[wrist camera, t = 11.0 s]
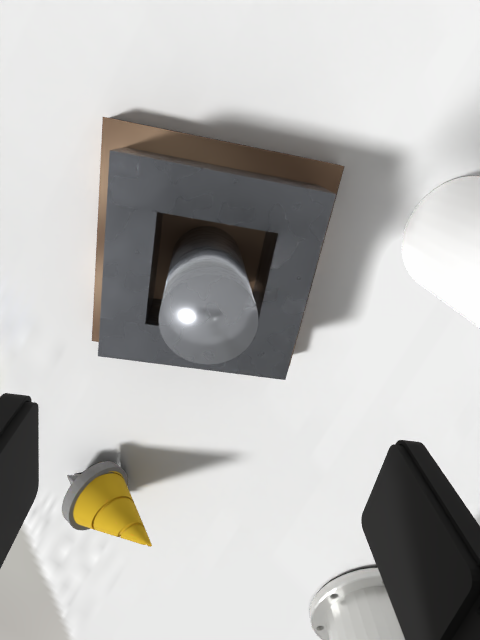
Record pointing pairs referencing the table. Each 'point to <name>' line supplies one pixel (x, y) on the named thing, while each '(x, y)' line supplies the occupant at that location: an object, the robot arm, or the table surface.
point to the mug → (447, 245)
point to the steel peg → (207, 299)
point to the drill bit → (103, 503)
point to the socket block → (216, 206)
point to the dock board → (176, 226)
